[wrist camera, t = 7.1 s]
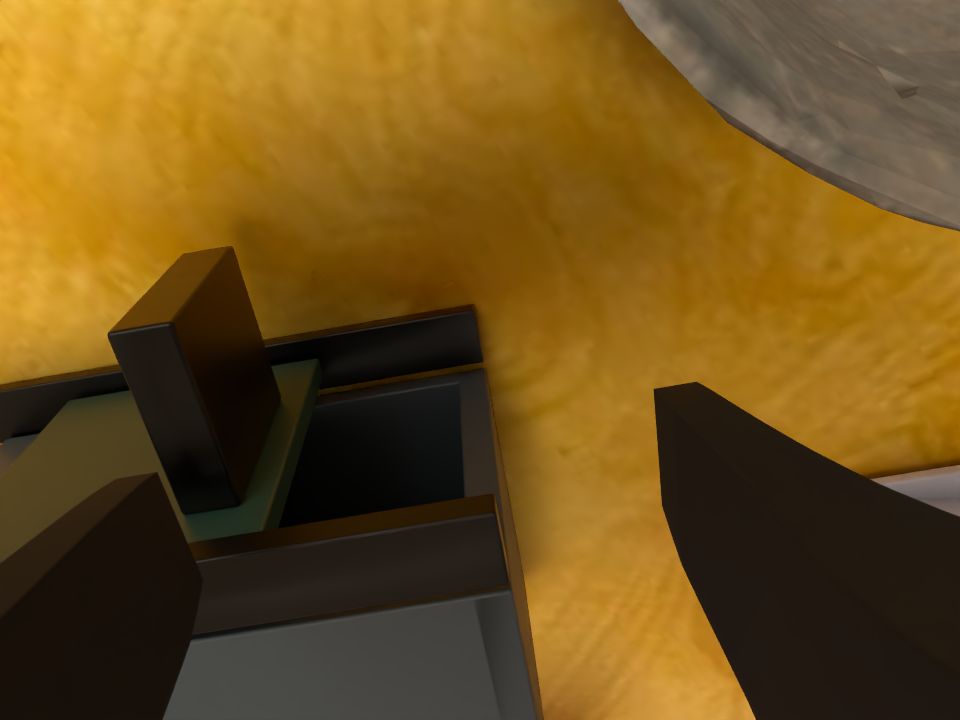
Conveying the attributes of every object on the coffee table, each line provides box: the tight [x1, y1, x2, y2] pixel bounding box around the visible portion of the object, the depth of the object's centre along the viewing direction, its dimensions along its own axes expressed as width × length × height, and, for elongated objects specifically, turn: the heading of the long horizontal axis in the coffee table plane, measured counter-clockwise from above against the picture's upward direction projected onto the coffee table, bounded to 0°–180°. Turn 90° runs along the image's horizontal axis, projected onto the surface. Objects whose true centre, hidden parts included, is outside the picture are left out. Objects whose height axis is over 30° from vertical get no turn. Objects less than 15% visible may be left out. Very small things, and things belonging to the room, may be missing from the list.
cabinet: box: [0, 304, 544, 720], centre depth 19 cm, size 14×10×9 cm
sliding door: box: [0, 246, 323, 563], centre depth 17 cm, size 7×5×8 cm, turn 99°
